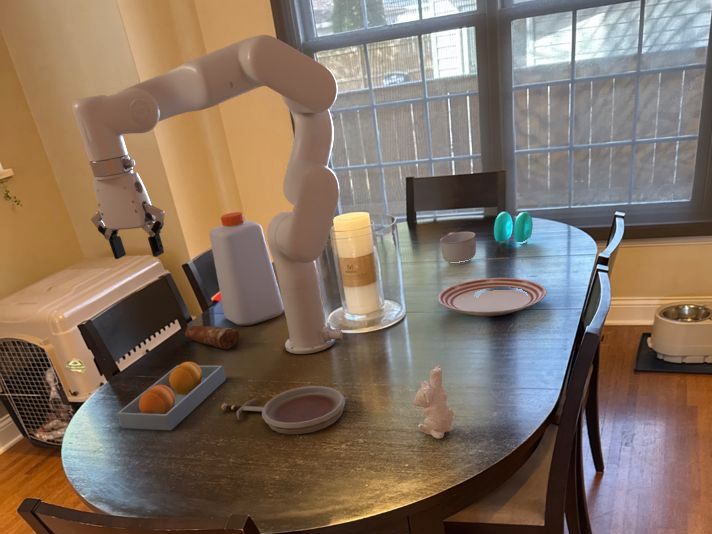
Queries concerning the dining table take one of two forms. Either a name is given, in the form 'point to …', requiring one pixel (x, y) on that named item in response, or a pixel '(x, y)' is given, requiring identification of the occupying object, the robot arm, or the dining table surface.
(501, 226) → the teal twin oval discs
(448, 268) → the dining table surface
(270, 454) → the dining table surface
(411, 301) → the dining table surface
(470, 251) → the teacup
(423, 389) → the pink rabbit figurine
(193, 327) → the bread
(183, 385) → the mango
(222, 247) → the plastic bottle
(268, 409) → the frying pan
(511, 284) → the dinner plate
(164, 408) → the mango
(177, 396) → the baking pan
